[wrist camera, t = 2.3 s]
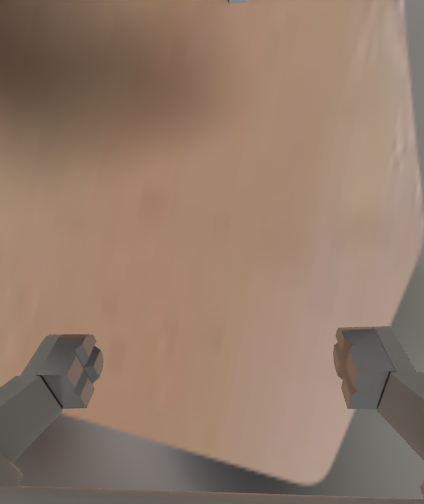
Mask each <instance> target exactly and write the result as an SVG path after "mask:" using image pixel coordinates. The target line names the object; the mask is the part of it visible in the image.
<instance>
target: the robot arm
mask: <svg viewBox="0 0 424 504" xmlns="http://www.w3.org/2000/svg"><path fill="white" fill-rule="evenodd" d="M336 338H337V341H338V343H336V344H335V345H334V351H333V357H334V365H335V369H336V372H337V375H338V376H339V377H340V378H341V379H342V380H343V382H342V387H341V389H342V392H343V395H344V398H345V402H346V405H347V408H348V409H378V410H377V411H378V412H379V413H380V414H381V415H382V417H384V419H385V420H386V421H387V422H388V423H389V424H390V425H391V426H392V427H393V428H394V429H395V430H396V431H397V433H398V434H399V435H400V436H401V437H402V438H403V439H404V440H405V441H406V442H407V443H408V444H409V445H410V446H411V447H412V449H413V450H414V451H415V452H416V453H417V454H418V455H419V456H420V457H421V458H422V459H423V460H424V373H422V372H416V371H415V369H414V367H413V365H412V364H411V362H410V360H409V358H408V356H407V354H406V353H405V351H404V349H403V347H402V345H401V344H400V342H399V340H398V338H397V337H396V335H395V333H394V331H393V330H392V328H391V327H389V326H382V327H347V328H338V329H337V332H336ZM95 343H96V340H95V338H94V336H93V335H89V334H63V335H48V336H47V337H45V338H44V340H43V341H42V343H41V345H40V346H39V348H38V349H37V351H36V352H35V354H34V355H33V357H32V358H31V360H30V361H29V363H28V365H27V366H26V368H25V369H24V371H23V372H22V374H21V375H20V376H15V377H14V378H13V379H11V380H10V381H8V382H7V383H6V384H4V385H3V386H2V387H0V504H424V499H406V498H375V497H344V496H343V497H342V496H310V495H282V494H280V495H279V494H251V493H250V494H249V493H218V492H188V491H187V492H186V491H157V490H156V491H155V490H154V491H153V490H125V489H93V488H61V487H29V486H18V485H19V483H20V481H21V479H22V472H21V471H20V470H19V469H18V468H17V467H16V466H15V465H14V464H13V462H14V461H15V460H16V459H17V458H18V457H19V456H20V455H21V454H22V452H23V451H24V450H25V449H26V448H27V447H28V446H29V445H30V444H31V443H32V442H33V441H34V440H35V439H36V438H37V437H38V436H39V435H40V434H41V432H42V431H43V430H44V429H45V428H46V427H47V426H48V425H49V424H50V423H51V422H52V421H53V420H54V419H55V418H56V417H57V416H58V415H59V414H60V413H61V411H62V409H71V408H87V406H88V404H89V402H90V399H91V397H92V394H93V392H94V386H93V382H95V381H96V380H97V379H98V378H99V377H100V374H101V372H102V368H103V355H102V352H101V350H100V349H98V348H97V347H96V346H95ZM420 489H421V491H422V494H423V497H424V481H423V483H422V484H421V486H420Z"/></svg>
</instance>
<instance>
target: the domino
mask: <svg viewBox="0 0 424 504" xmlns="http://www.w3.org/2000/svg"><path fill="white" fill-rule="evenodd" d="M242 2H246V0H229V4H231V3H242Z"/></svg>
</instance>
